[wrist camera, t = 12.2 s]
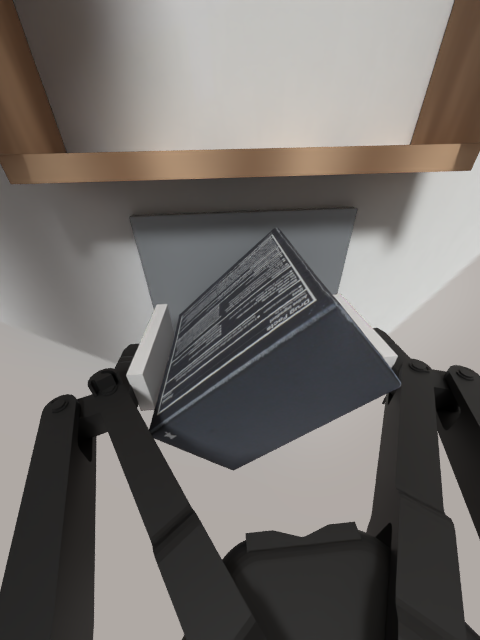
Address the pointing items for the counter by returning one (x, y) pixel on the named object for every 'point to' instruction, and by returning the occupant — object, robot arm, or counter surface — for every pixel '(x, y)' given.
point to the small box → (263, 361)
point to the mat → (232, 247)
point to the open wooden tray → (420, 156)
